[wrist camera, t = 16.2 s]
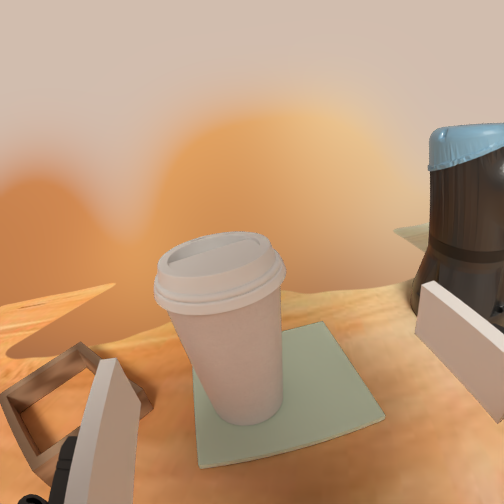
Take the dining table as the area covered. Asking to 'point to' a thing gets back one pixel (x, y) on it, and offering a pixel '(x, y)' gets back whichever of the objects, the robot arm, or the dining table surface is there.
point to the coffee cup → (228, 319)
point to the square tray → (40, 386)
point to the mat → (292, 404)
